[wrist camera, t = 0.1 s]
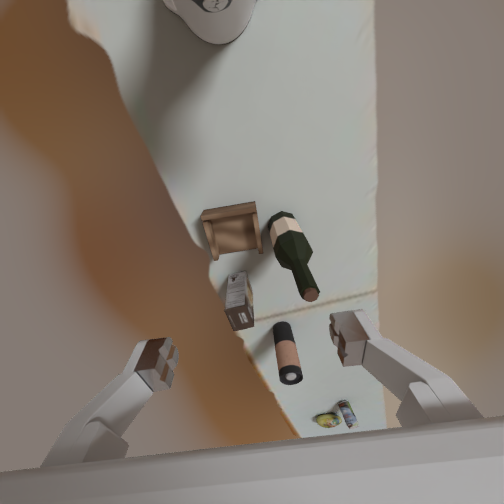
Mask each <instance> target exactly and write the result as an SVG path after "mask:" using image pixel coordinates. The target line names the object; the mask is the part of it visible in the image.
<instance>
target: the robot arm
mask: <svg viewBox="0 0 504 504" xmlns="http://www.w3.org/2000/svg"><path fill="white" fill-rule="evenodd" d="M163 1H164V4H165V5H166V7H167V8H169V9H170V10H171V11H173V12H174V13H176V14H178V15H179V16H180V17H181V18H182V19H183V20H184V21H185V22H186V24H187V25H188V26H189V28H190V29H191V30H192V31H193V32H194V33H195V34H196V35H197V36H198V37H200V38H201V39H203V40H204V41H207V42H209V43H213V44H225V43H228V42H230V41H232V40H234V39H235V38H237V37H238V36H239V35H240V34H241V33H242V32H243V30H244V29H245V28H246V26H247V24H248V22H249V20H250V18H251V15H252V12H253V9H254V6H255V3H256V0H163ZM330 321H331V324H330V325H329V331H330V336H331V339H332V341H333V344H334V345H335V346H337V347H338V351H337V353H338V356H339V358H340V360H341V363H342V365H343V367H345V366H355V365H362V366H363V367H364V368H365V369H366V370H367V371H368V372H370V373H371V374H372V375H373V376H374V377H375V378H376V379H377V380H378V381H380V382H381V383H382V384H383V385H384V386H385V387H386V388H387V389H389V390H390V391H391V392H392V393H393V394H394V395H395V396H396V397H398V399H400V400H401V401H402V402H401V404H400V406H399V409H398V411H397V413H396V416H397V418H398V420H399V422H400V424H401V426H402V427H397V428H388V429H379V430H370V431H362V432H353V433H344V434H335V435H326V436H317V437H308V438H299V439H290V440H281V441H272V442H263V443H254V444H245V445H236V446H227V447H219V448H210V449H200V450H192V451H183V452H174V453H165V454H156V455H147V456H138V457H129V458H125V455H126V453H127V450H128V447H129V445H128V443H127V442H126V441H125V440H124V439H122V438H121V436H122V435H123V433H124V432H125V431H126V429H127V428H128V427H129V425H130V424H131V422H132V421H133V420H134V418H135V417H136V416H137V414H138V413H139V412H140V410H141V409H142V407H143V406H144V405H145V403H146V402H147V401H148V399H149V398H150V397H151V395H152V394H153V392H155V391H161V390H167V389H170V388H171V384H172V380H173V377H174V373H173V369H174V368H175V367H176V366H177V363H178V349H177V348H176V346H174V345H172V342H173V341H172V339H171V338H170V337H168V338H159V339H150V340H143V341H139V342H138V343H137V345H136V347H135V348H134V350H133V353H132V355H131V357H130V358H129V360H128V362H127V365H126V367H125V369H124V370H123V372H122V374H119V375H117V377H115V378H114V379H113V380H112V381H111V382H110V383H109V384H108V385H107V386H106V387H105V388H104V389H103V390H102V391H101V392H99V393H98V394H97V395H96V396H95V397H94V398H93V399H92V400H91V401H90V402H89V403H88V404H87V405H86V406H85V407H84V408H82V410H80V411H79V412H78V413H77V414H76V415H75V416H74V417H73V418H72V419H71V420H70V421H69V422H68V423H67V424H66V425H65V427H64V428H63V430H62V432H61V433H60V435H59V437H58V438H57V440H56V441H55V443H54V445H53V446H52V448H51V450H50V451H49V453H48V455H47V456H46V458H45V460H44V461H43V463H42V465H41V466H40V468H32V469H22V470H13V471H4V472H0V504H504V416H496V417H487V418H484V417H483V416H482V415H481V413H480V412H479V411H478V410H477V408H476V407H475V406H474V405H473V404H472V402H471V401H470V400H469V399H468V398H467V397H466V395H465V394H464V393H463V392H462V391H461V389H459V387H458V386H457V385H456V383H455V382H454V381H453V380H452V379H451V377H449V376H448V375H446V374H444V373H443V372H441V371H439V370H438V369H436V368H435V367H433V366H431V365H430V364H428V363H427V362H425V361H423V360H422V359H420V358H418V357H417V356H415V355H413V354H412V353H410V352H409V351H407V350H405V349H404V348H402V347H401V346H399V345H397V344H395V343H394V342H392V341H391V340H389V339H388V338H383V337H382V336H381V334H380V333H379V331H378V330H377V329H376V327H375V326H374V324H373V323H372V321H371V320H370V318H369V317H368V315H367V314H366V312H365V311H364V310H363V309H359V310H352V311H344V312H338V313H331V314H330Z"/></svg>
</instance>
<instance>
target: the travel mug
mask: <svg viewBox="0 0 504 504" xmlns="http://www.w3.org/2000/svg"><path fill="white" fill-rule="evenodd" d="M273 333H274V342H275V351H276V357H277V364H278V370H279V377H280V381H281V382H282V383H283V384H286V385H294V384H297V383H299V382H301V381H302V379H303V375H302V371H301V366H300V362H299V358H298V353H297V349H296V345H295V341H294V337H293V334H292V330H291V326H290V324H289V323H287V322H278V323H276V324H275V325H274V326H273Z"/></svg>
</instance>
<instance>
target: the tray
mask: <svg viewBox="0 0 504 504" xmlns="http://www.w3.org/2000/svg"><path fill="white" fill-rule="evenodd" d="M201 220H202V221H203V226H204V229H205V233H206V236H207V239H208V242H209V246H210V249H211V252H212V255H213V259H214V261H216V260H218V259H219V254H224V253H230V252H237V251H243V250H250V249H256V248H258V251H259V254H262V253H263V249H262V242H261V236H260V230H259V223H258V217H257V210H256V204H255V201H254V202H248V203H243V204H237V205H231V206H225V207H219V208H213V209H207V210H204V211H203V213H202V215H201Z"/></svg>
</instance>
